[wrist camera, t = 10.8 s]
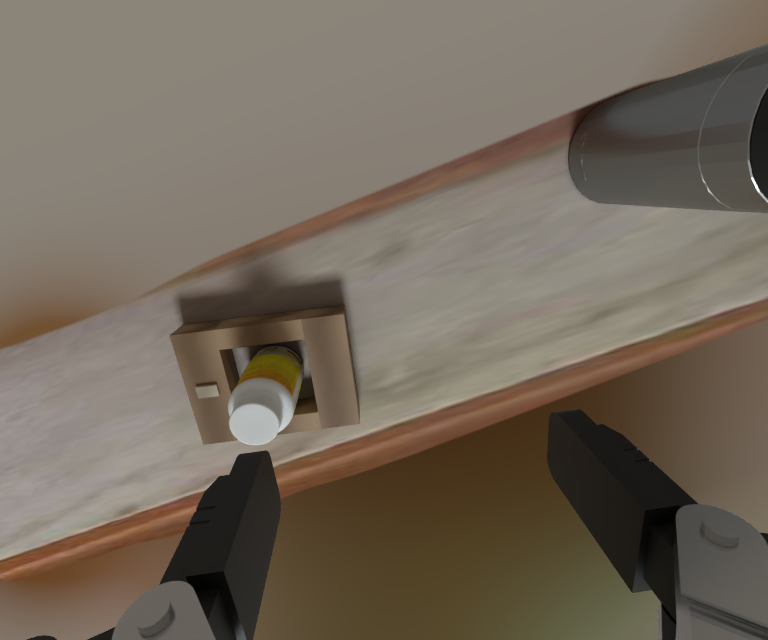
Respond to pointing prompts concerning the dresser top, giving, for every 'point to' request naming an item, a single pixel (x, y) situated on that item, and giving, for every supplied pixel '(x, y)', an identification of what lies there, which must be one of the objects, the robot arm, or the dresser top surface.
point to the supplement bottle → (265, 395)
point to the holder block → (216, 338)
